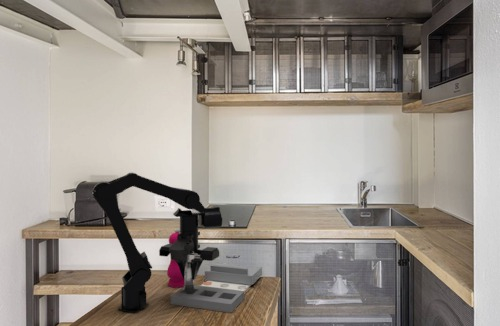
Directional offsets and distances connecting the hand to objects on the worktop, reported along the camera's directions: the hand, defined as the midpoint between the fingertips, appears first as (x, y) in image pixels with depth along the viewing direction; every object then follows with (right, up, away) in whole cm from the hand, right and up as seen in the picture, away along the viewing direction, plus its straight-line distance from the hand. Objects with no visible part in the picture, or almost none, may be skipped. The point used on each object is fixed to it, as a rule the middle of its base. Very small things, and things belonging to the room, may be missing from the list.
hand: (189, 278), depth 114 cm
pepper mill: (-6, -7, +13) cm, 16 cm away
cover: (+13, -6, +18) cm, 24 cm away
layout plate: (+10, -6, +10) cm, 16 cm away
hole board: (+6, -6, -2) cm, 9 cm away
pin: (0, -3, 0) cm, 3 cm away
